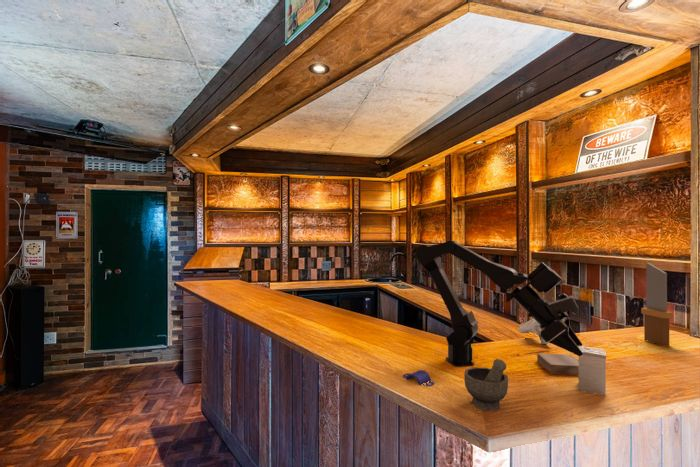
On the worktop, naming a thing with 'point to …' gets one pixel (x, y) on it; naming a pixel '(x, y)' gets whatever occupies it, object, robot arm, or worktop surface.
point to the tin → (592, 370)
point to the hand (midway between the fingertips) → (581, 350)
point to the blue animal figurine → (420, 377)
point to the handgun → (532, 329)
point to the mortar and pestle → (487, 385)
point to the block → (559, 363)
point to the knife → (656, 306)
